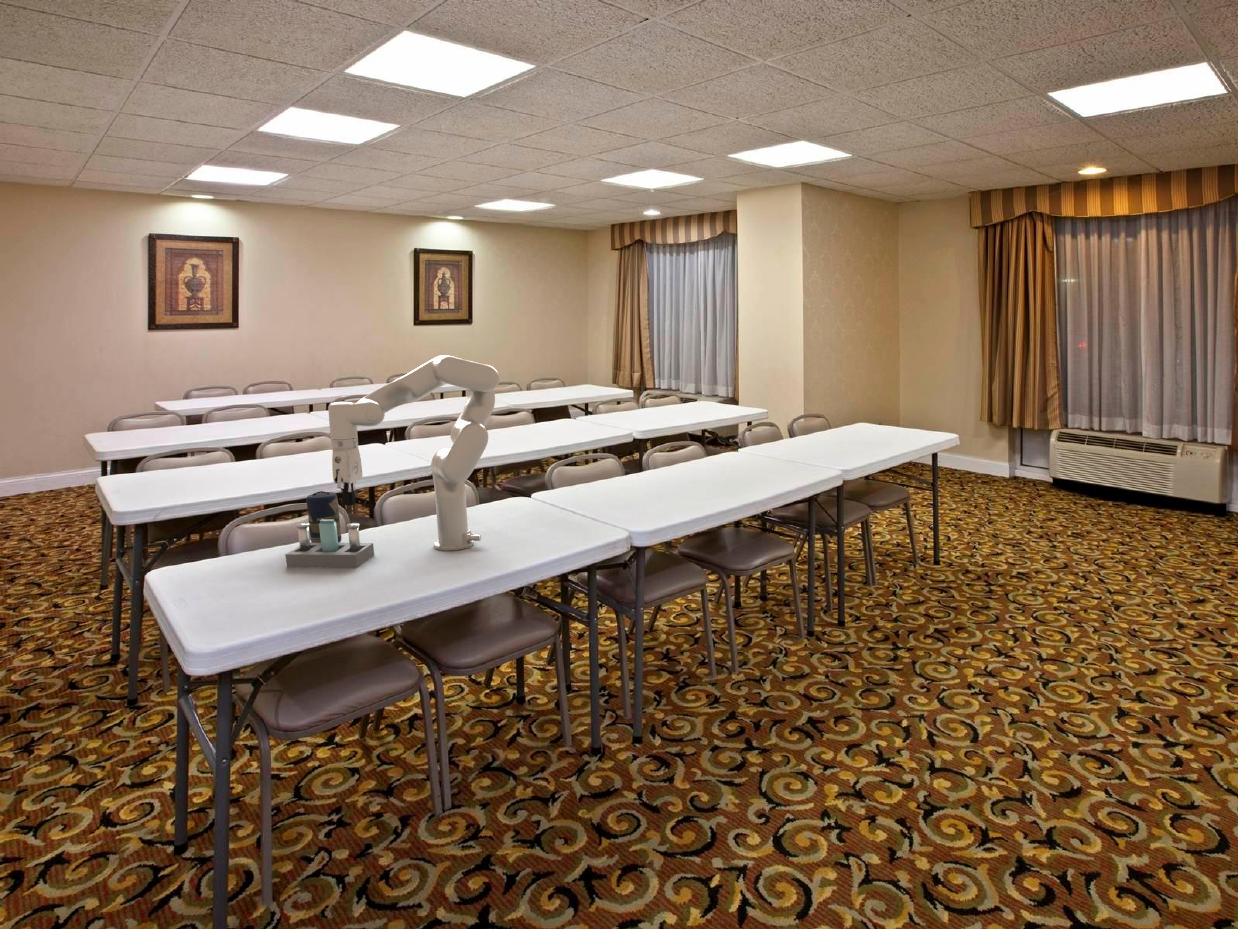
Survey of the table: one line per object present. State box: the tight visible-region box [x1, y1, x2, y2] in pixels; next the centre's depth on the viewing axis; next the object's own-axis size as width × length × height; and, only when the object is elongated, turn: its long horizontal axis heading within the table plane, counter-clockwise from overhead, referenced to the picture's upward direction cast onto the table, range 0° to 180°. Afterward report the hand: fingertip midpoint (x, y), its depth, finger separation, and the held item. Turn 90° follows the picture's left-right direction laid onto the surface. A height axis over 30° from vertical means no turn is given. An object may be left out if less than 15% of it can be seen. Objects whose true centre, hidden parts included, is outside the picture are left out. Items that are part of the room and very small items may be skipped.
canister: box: [305, 490, 343, 543], centre depth 243 cm, size 10×10×18 cm
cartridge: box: [319, 520, 339, 552], centre depth 226 cm, size 5×5×13 cm
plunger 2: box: [346, 522, 361, 552], centre depth 225 cm, size 4×4×9 cm
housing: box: [285, 542, 375, 569], centre depth 227 cm, size 22×12×4 cm, turn 84°
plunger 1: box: [295, 522, 311, 552], centre depth 227 cm, size 4×4×9 cm
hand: (349, 504), depth 223 cm, fingers closed
